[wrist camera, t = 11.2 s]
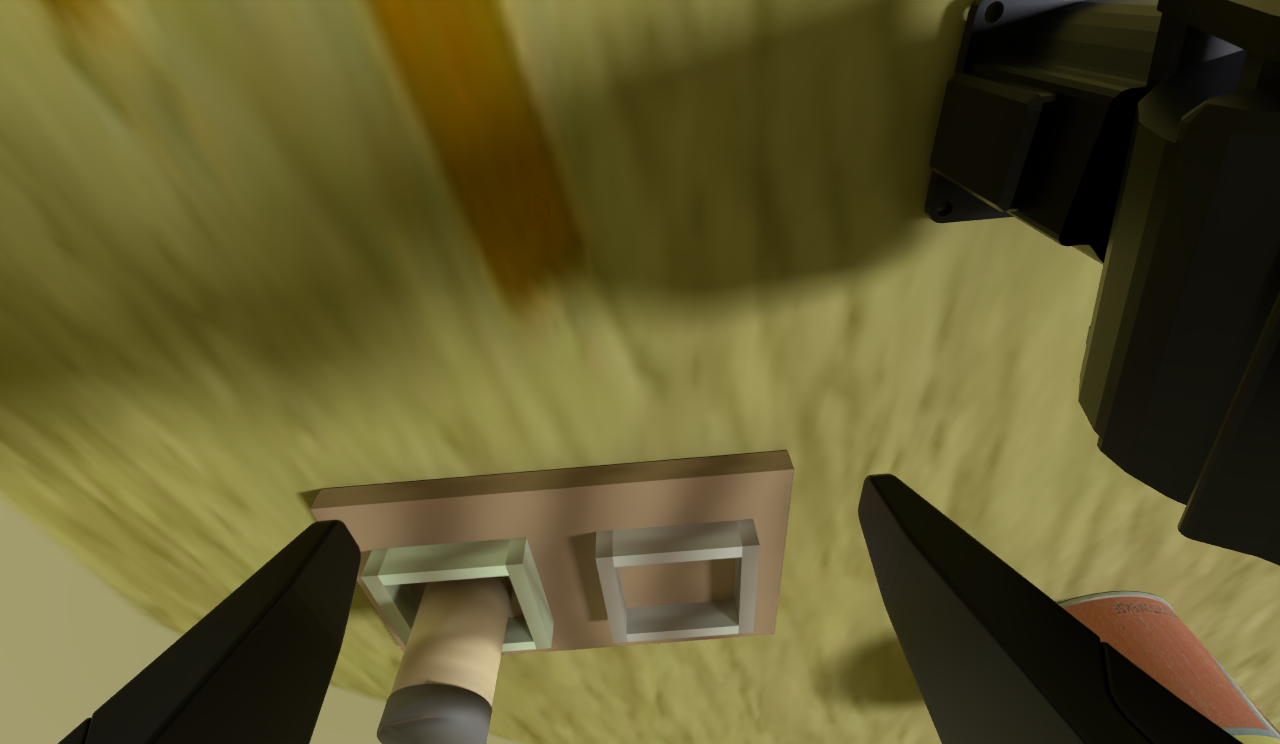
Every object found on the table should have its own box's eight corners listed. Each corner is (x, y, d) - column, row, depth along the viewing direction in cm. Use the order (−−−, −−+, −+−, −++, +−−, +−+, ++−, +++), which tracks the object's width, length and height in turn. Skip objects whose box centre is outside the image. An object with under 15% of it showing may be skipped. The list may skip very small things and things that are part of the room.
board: (787, 450, 25) (803, 495, 23) (770, 615, 34) (780, 659, 31) (321, 489, 26) (293, 536, 24) (416, 642, 34) (402, 688, 32)
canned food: (1170, 651, 38) (1359, 881, 28) (1002, 693, 41) (1121, 915, 31) (1173, 569, 32) (1413, 824, 23) (976, 625, 35) (1113, 872, 26)
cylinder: (502, 559, 27) (470, 712, 22) (521, 608, 30) (497, 756, 24) (414, 566, 28) (359, 719, 22) (441, 614, 30) (398, 762, 25)
